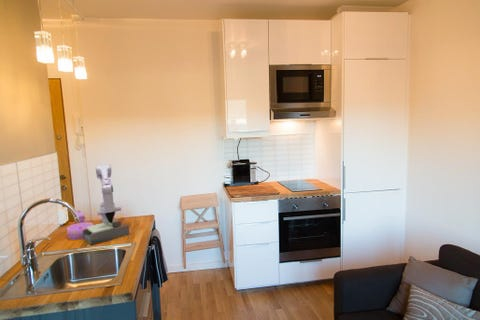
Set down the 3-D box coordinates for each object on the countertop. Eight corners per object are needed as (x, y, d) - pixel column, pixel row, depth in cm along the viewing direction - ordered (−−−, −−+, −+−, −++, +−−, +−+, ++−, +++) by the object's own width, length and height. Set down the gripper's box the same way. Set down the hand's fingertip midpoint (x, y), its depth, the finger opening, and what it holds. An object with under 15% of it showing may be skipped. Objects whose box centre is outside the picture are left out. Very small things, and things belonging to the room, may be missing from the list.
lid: (85, 228, 195) (85, 224, 195) (105, 223, 203) (104, 219, 203) (93, 234, 185) (92, 229, 185) (113, 228, 193) (112, 224, 193)
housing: (83, 239, 195) (82, 229, 194) (120, 229, 211) (120, 220, 210) (90, 245, 185) (89, 235, 184) (129, 234, 201) (128, 225, 200)
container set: (94, 236, 199) (92, 217, 198) (67, 241, 192) (65, 221, 190) (92, 225, 221) (90, 207, 219) (68, 229, 214) (66, 211, 212)
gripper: (99, 206, 189) (101, 227, 191) (122, 201, 199) (124, 222, 201) (95, 204, 194) (97, 225, 196) (118, 200, 204) (119, 219, 206)
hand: (110, 223), depth 199 cm, fingers closed
